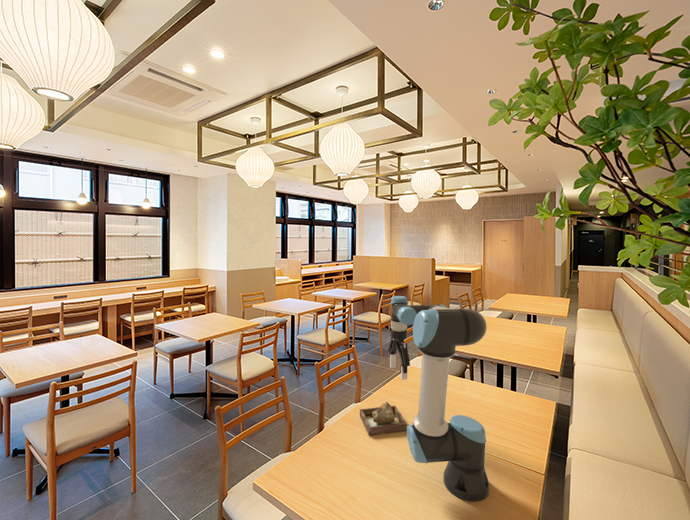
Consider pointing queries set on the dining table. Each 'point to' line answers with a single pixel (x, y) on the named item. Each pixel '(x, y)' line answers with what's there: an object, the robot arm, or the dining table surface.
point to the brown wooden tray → (383, 428)
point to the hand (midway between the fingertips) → (398, 373)
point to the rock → (383, 414)
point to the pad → (372, 423)
